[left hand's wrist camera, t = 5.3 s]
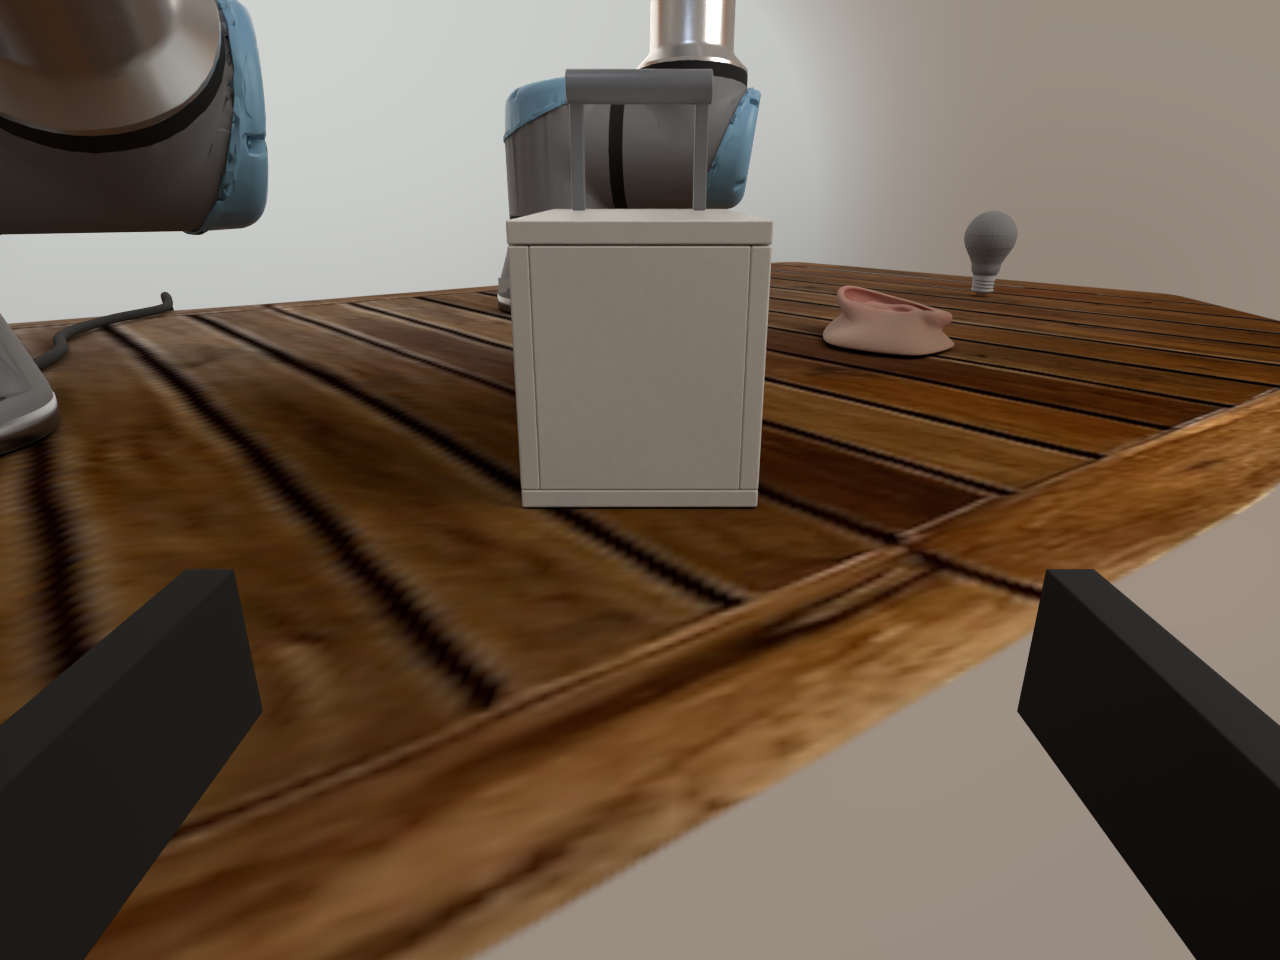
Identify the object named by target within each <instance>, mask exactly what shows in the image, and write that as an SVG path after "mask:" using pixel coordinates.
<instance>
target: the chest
mask: <svg viewBox="0 0 1280 960" xmlns="http://www.w3.org/2000/svg"><path fill="white" fill-rule="evenodd" d="M771 254H772V247H771V246H769V245H510V246H508V266H509V283H510V301H511V318H512V336H513V353H514V371H515V388H516V406H517V423H518V441H519V458H520V476H521V488H522V491H521V493H522V506H523V507H756V506H757V498H758V491H757V489H758V480H759V463H760V445H761V428H762V411H763V393H764V376H765V358H766V341H767V324H768V306H769V289H770V271H771Z"/></svg>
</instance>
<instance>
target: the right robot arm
mask: <svg viewBox="0 0 1280 960" xmlns="http://www.w3.org/2000/svg"><path fill="white" fill-rule="evenodd" d="M734 26H735V0H651V18H650V53H649V55H648V56H647V58H646V59H645V60H644V61H643V62H642V63H641V64H640V65H639V66H638V67H637V68H636V69H712V70H713V96H712V103H711V104H710V105H709V119H708V154H707V189H706V209H729V208H732V207H734V206H736V205H737V204H738V203H739V202H740V201H741V200H742V198H743V196H744V192H745V186H746V180H747V174H748V168H749V162H750V156H751V151H752V145H753V138H754V133H755V126H756V120H757V114H758V108H759V103H760V97H761V94H760V92H759V91H758V90H755V89H754V88H748V89H747V75H748V71H747V68H746V67H745V66H744V65H743V64H742V63H741V61H740V60H739V59H738V58H737V57H736V56H735V54H734ZM694 121H695V105H689V104H584V147H585V191H586V209H693V165H694ZM504 143H505V148H506V165H507V181H508V198H509V214H510V220H511V219H515V218H519V217H523V216H527V215H531V214H535V213H540V212H544V211H548V210H552V209H572V174H571V139H570V104H567V101H566V90H565V77H560V78H554V79H548V80H543V81H538V82H534V83H530V84H527V85H524V86H522V87H520V88H517V89H516V90H514V91H513V92H512V93H511V94H510V95H509V96H508V98H507V100H506V103H505V135H504ZM509 246H510V245H509ZM498 281H499V287H498V307H499V308H500V309H501V310H504V311H507V312H511V301H510V283H509V266H508V251H507V255H506V259H505V263H504V267H503V271H502V275H501V278H498Z"/></svg>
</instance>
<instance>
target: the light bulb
mask: <svg viewBox="0 0 1280 960" xmlns="http://www.w3.org/2000/svg"><path fill="white" fill-rule="evenodd" d="M1016 239H1017V228H1016V225H1015V223H1014V221H1013V220H1012V219H1011V217H1009V216H1008V215H1007V214H1005V213H1003V212H999V211H989V212H985V213H983V214H980V215H979V216H977V217H976V218H975V219H974V220H973V221H972V222H971V223H970V224H969V226H968V227H967V229H966V232H965V237H964V242H965V247H966V249H967V252H968V254H969V256H970V259H971V263H972V273H973V279H974V281H972V282H974V284H972V285H973V287H972V289H971V290H972V291H973V292H975V293H976V294H979V295H986V294H989V293H991V292H993V291H994V290H993V289H992V288H994V287H993V284H994V283H993V282H994V281H995V278H996V275H997V274H998V272H999V270H1000V267H1001V264H1002V262H1003V261H1004V259H1005V258H1006V256H1007V255H1008V254H1009V253H1010V251H1011V250H1012V248H1013V247H1014V245H1015V243H1016Z"/></svg>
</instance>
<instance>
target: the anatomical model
mask: <svg viewBox="0 0 1280 960" xmlns="http://www.w3.org/2000/svg"><path fill="white" fill-rule="evenodd" d="M837 300H838V304H839V306H840V308H841V309H842V313H841V314H840V316H838V317H837V318H836V319H835V320H833V321H832V322H831V323H830V324H829V325H828V326H827V327H826V328H825V330H824V332H823V338H824V340H825V341H826V342H827V343H829V344H831V345H834V346H838V347H842V348H847V349H853V350H860V351H866V352H875V353H883V354H893V355H905V356H919V355H928V354H933V353H937V352H941V351H944V350H947V349H949V348H952V347H953V346H954V343H953V341H952V340H951V339H949V338H948V337H947V336H946V335H945V334H944V333H943V331H942V329H943V328H944V327H946V326H947V325H949V324H950V323H951V321H952V314H950V313H949V312H946V311H942V310H939V309H935V308H931V307H928V306H925V305H922V304H919V303H916V302H912V301H909V300H905V299H901V298H897V297H894V296H890V295H887V294H883V293H880V292H876V291H873V290H869V289H865V288H860V287H855V286H844V287H842V288H840V289H839V290H838V293H837Z"/></svg>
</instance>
